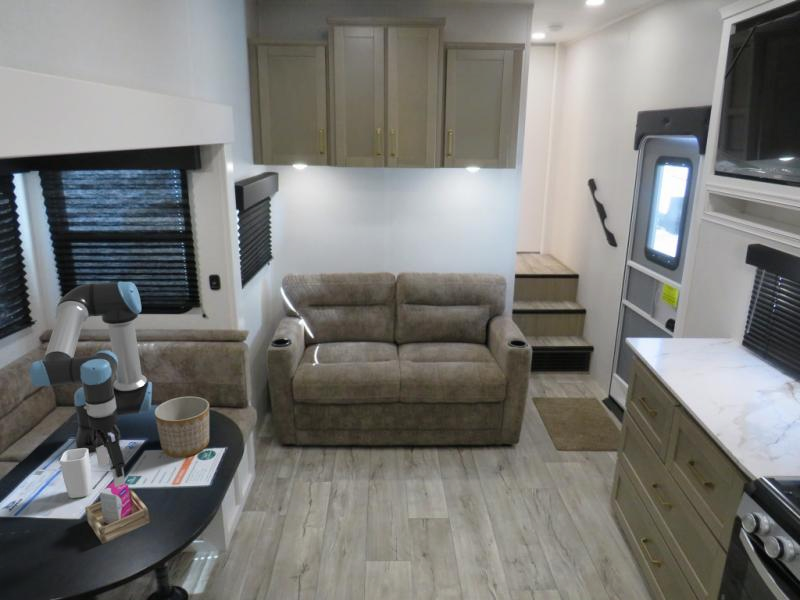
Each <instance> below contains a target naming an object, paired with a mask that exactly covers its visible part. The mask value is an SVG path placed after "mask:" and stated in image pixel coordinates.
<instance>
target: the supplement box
mask: <svg viewBox="0 0 800 600" xmlns="http://www.w3.org/2000/svg"><path fill="white" fill-rule="evenodd" d="M129 487H130V486H129V484H126V483H125V484H122V485H120V486H117V487H115V485H114V481H112V482H111V483H110V484H109V485H108V486H106V487H105V488H104V489H103V490H101V491H100V492H99V496H100V501H101V506H102V513H103V521H104V524H105V525H108V524H111V523H113V522H115V521H117V520H120V519H122V518H124V517H127V516H129V515H131V505H130V496H129Z"/></svg>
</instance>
